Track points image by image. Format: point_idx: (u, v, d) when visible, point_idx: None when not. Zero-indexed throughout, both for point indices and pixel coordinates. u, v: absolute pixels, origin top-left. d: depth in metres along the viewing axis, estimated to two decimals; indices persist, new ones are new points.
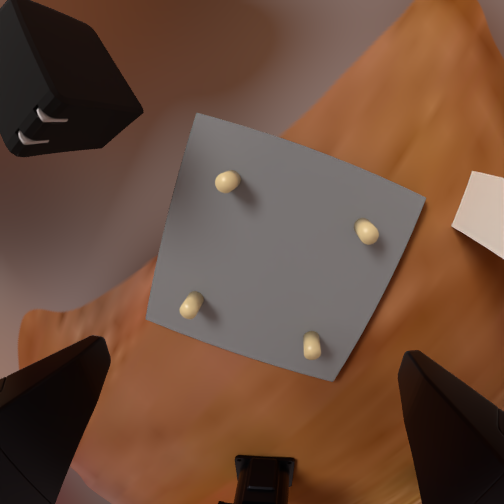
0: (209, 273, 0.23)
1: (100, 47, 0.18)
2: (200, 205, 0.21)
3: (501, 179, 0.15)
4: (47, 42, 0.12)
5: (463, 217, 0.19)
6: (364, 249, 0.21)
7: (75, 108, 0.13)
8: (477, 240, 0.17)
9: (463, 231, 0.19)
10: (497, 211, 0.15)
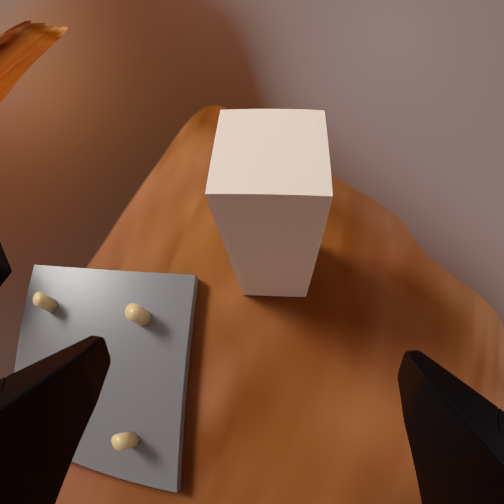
0: None
1: None
2: (35, 329, 0.22)
3: None
4: None
5: None
6: (151, 338, 0.21)
7: None
8: (236, 275, 0.20)
9: (240, 285, 0.22)
10: None
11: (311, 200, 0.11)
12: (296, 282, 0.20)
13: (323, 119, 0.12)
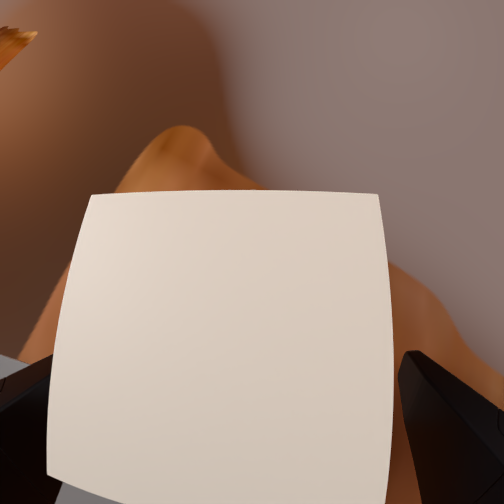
0: None
1: None
2: None
3: None
4: None
5: None
6: None
7: None
8: None
9: None
10: None
11: None
12: None
13: (377, 229, 0.04)
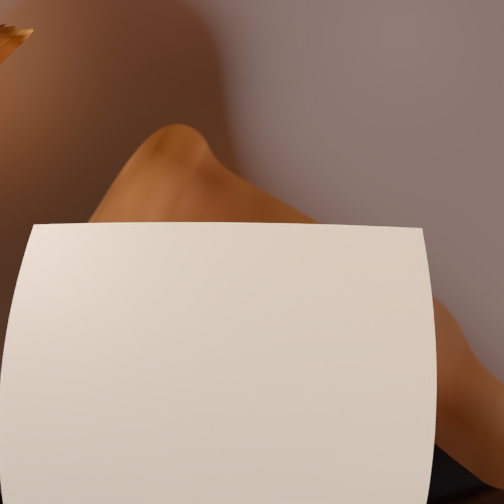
0: None
1: None
2: None
3: None
4: None
5: None
6: None
7: None
8: None
9: None
10: None
11: None
12: None
13: (422, 283, 0.03)
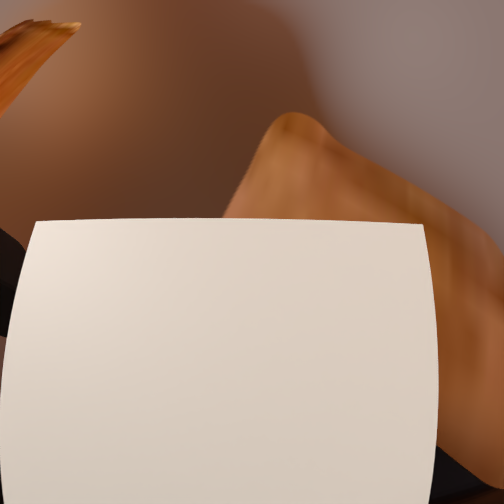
0: None
1: None
2: None
3: None
4: None
5: None
6: None
7: None
8: None
9: None
10: None
11: None
12: None
13: (423, 279, 0.03)
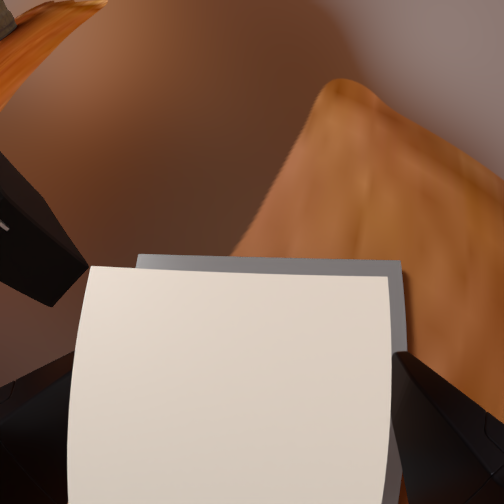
0: None
1: (49, 210, 0.21)
2: None
3: None
4: (1, 167, 0.14)
5: None
6: None
7: (15, 213, 0.13)
8: None
9: None
10: None
11: None
12: None
13: (384, 317, 0.04)
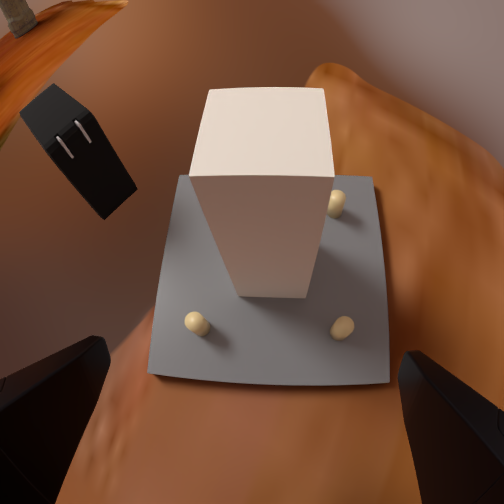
0: (211, 294, 0.22)
1: None
2: (192, 236, 0.24)
3: None
4: None
5: None
6: (345, 228, 0.23)
7: (98, 130, 0.20)
8: (229, 274, 0.18)
9: None
10: None
11: (310, 182, 0.10)
12: (295, 282, 0.18)
13: (322, 97, 0.11)
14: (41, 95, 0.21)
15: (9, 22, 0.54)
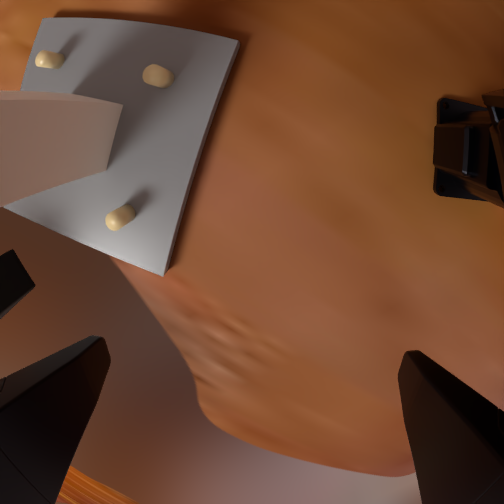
0: (100, 196, 0.20)
1: None
2: (50, 203, 0.21)
3: None
4: None
5: None
6: (75, 52, 0.16)
7: None
8: (71, 180, 0.16)
9: None
10: None
11: None
12: (93, 116, 0.15)
13: None
14: None
15: None
